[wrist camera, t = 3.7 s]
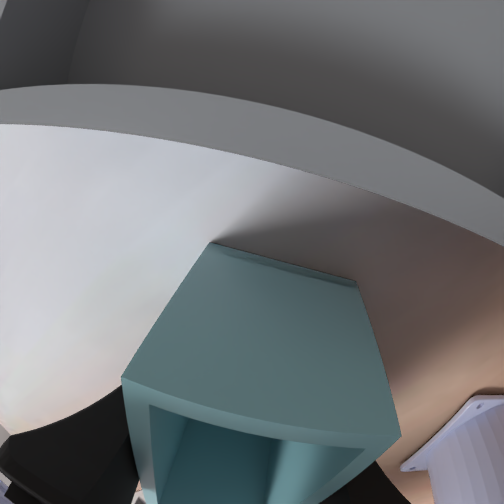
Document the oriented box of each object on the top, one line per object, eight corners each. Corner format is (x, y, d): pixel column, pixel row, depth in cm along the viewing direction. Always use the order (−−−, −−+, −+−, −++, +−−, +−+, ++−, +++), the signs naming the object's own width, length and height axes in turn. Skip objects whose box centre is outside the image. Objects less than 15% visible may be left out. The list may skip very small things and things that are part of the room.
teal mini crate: (356, 281, 10) (401, 436, 4) (280, 428, 13) (268, 532, 8) (209, 242, 10) (120, 376, 4) (184, 404, 13) (146, 505, 8)
